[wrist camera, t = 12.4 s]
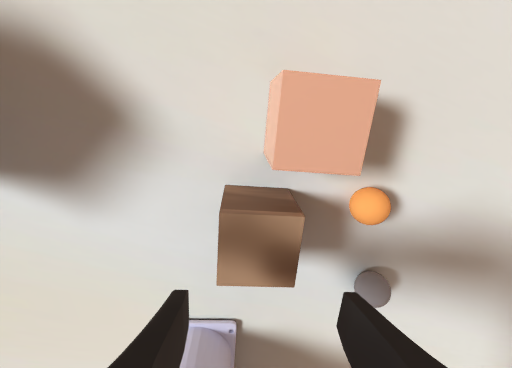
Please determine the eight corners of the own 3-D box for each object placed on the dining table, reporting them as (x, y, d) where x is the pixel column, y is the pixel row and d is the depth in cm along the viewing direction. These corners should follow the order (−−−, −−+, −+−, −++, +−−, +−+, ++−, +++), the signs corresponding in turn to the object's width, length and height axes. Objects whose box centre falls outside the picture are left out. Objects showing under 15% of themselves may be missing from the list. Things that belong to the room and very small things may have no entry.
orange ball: (373, 215, 21) (394, 232, 18) (340, 214, 21) (356, 231, 18) (380, 183, 20) (404, 195, 17) (346, 181, 20) (364, 193, 17)
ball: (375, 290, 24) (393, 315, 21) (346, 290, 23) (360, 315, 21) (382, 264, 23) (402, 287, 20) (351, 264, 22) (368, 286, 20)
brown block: (281, 243, 21) (294, 287, 16) (222, 241, 21) (216, 285, 16) (288, 188, 20) (305, 217, 15) (225, 184, 19) (219, 212, 14)
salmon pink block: (327, 157, 19) (360, 175, 14) (263, 152, 19) (272, 169, 14) (339, 88, 18) (381, 80, 12) (270, 81, 17) (283, 70, 12)
